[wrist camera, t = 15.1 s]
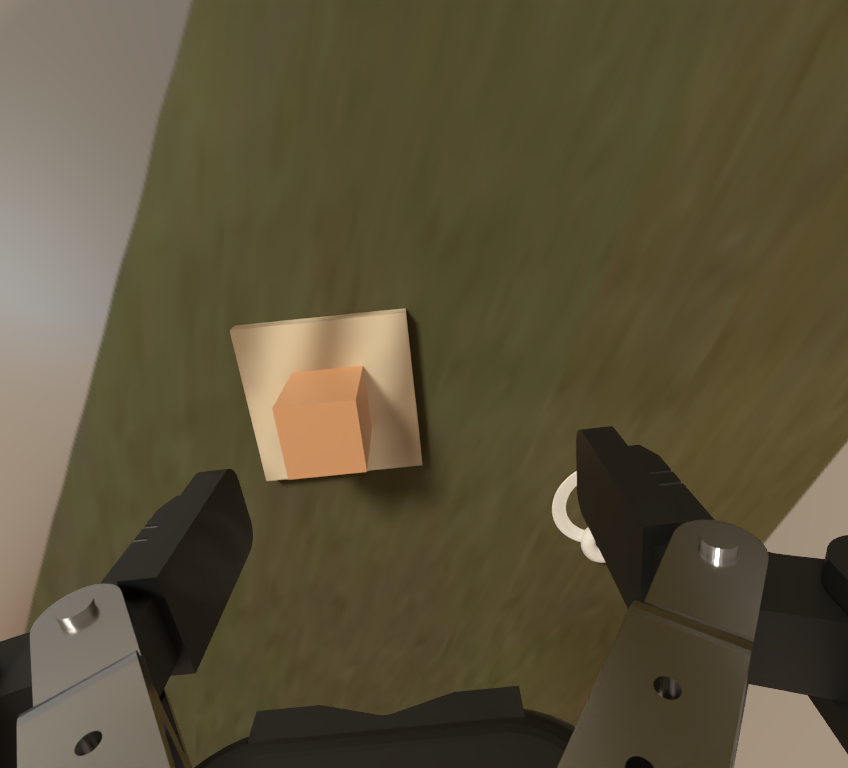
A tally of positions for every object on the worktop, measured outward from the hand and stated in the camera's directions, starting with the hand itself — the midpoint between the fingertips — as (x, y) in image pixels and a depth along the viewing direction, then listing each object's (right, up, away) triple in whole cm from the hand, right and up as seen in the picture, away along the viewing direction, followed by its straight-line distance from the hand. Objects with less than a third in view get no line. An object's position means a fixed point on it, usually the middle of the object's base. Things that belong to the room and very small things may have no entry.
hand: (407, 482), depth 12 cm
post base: (-6, +1, +26) cm, 27 cm away
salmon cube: (-6, +1, +25) cm, 26 cm away
